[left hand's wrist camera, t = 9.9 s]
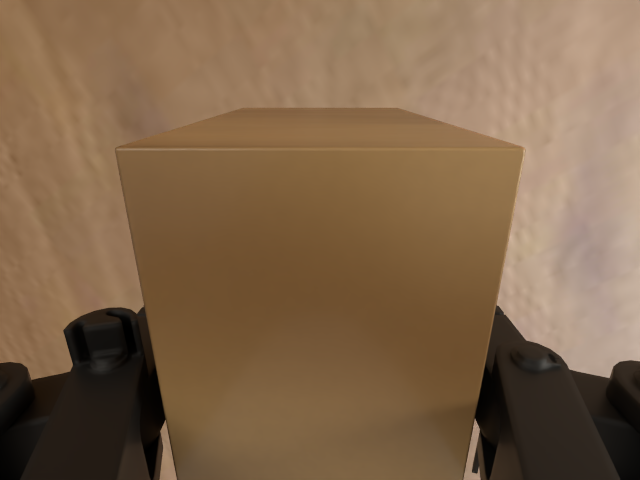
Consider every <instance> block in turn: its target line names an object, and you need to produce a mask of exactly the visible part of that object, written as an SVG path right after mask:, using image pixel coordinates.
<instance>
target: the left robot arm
mask: <svg viewBox="0 0 640 480" xmlns="http://www.w3.org/2000/svg"><path fill="white" fill-rule="evenodd" d="M63 331H64V335H65V338H66V342H67V345H68V349H69V352H70V356H71V359H72V363H73V367H72V369H71V371H70V372H67V373H63V374H58V375H53V376H48V377H43V378H38V379H34V380H31V378H30V375H29V372H28V369H27V368H26V367H25V366H24V365H22V364H21V363H13V362H7V363H0V480H159V479H160V470H161V461H162V452H163V444H162V438H161V433H160V430H161V428H162V426H163V424H164V422H165V420H166V418H165V413H164V407H163V402H162V397H161V391H160V386H159V381H158V376H157V370H156V365H155V360H154V354H153V349H152V344H151V339H150V333H149V328H148V323H147V317H146V312H145V307H142V308H141V309H140V311H139V312H138V313H137V314H136V313H135V312H133V311H132V310H131V309H126V308H106V309H101V310H97V311H93V312H91V313H88V314H85V315H83V316H81V317H79V318H77V319H76V320H74V321H72V322H71V323H70V324H69V325H68V326H67V327H66V328H65V329H64V330H63ZM475 419H476V421H477V423H478V426H479V428H480V433H479V438H478V443H477V447H476V452H475V457H474V462H473V469H472V472H473V473H478V468H479V469H480V478H481V480H640V361H632V360H630V361H622V362H619V363H618V364H616V365H615V366H614V367H613V370H612V373H611V376H610V378H606V377H601V376H596V375H591V374H586V373H581V372H577V371H573V370H569V368H568V366H567V364H566V363H565V362H564V360H563V359H562V358H561V357H560V356H559V355H558V354H556V353H555V352H553V351H552V350H551V349H549V348H546V347H544V346H542V345H540V344H537V343H534V342H529V341H526V340H525V339H524V337H523V336H522V335H521V334H520V332H519V331H518V330H517V329H516V327H515V326H514V325H513V324H512V322H511V321H510V320H509V319H508V317H507V316H506V315H504V312H503V311H502V310H501V309H500V307H499V306H497V304H496V309H495V314H494V320H493V325H492V330H491V335H490V341H489V346H488V351H487V356H486V362H485V367H484V372H483V378H482V383H481V388H480V393H479V399H478V404H477V409H476V414H475Z"/></svg>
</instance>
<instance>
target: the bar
mask: <svg viewBox="0 0 640 480" xmlns="http://www.w3.org/2000/svg"><path fill="white" fill-rule="evenodd" d="M115 153H116V158H117V164H118V169H119V174H120V180H121V185H122V190H123V196H124V201H125V206H126V211H127V217H128V222H129V227H130V233H131V238H132V243H133V248H134V254H135V259H136V264H137V270H138V275H139V280H140V286H141V291H142V296H143V301H144V307H145V312H146V317H147V323H148V328H149V333H150V339H151V344H152V349H153V354H154V360H155V365H156V370H157V376H158V381H159V386H160V391H161V397H162V402H163V407H164V413H165V418H166V423H167V429H168V434H169V439H170V444H171V450H172V455H173V460H174V466H175V471H176V476H177V480H463V477H464V472H465V467H466V462H467V456H468V451H469V446H470V441H471V435H472V430H473V425H474V420H475V414H476V409H477V404H478V399H479V393H480V388H481V383H482V378H483V372H484V367H485V362H486V356H487V351H488V346H489V341H490V335H491V330H492V325H493V320H494V314H495V309H496V304H497V299H498V293H499V288H500V283H501V278H502V272H503V267H504V262H505V257H506V251H507V246H508V241H509V236H510V230H511V225H512V220H513V214H514V209H515V204H516V199H517V193H518V188H519V183H520V178H521V172H522V167H523V162H524V157H525V148H524V147H521V146H518V145H515V144H511V143H508V142H505V141H502V140H499V139H495V138H492V137H489V136H486V135H482V134H479V133H476V132H473V131H470V130H466V129H463V128H460V127H457V126H454V125H450V124H447V123H444V122H441V121H437V120H434V119H431V118H428V117H425V116H421V115H418V114H415V113H412V112H408V111H405V110H402V109H399V108H241V109H238V110H235V111H232V112H229V113H225V114H222V115H219V116H216V117H212V118H209V119H206V120H203V121H200V122H196V123H193V124H190V125H187V126H183V127H180V128H177V129H174V130H171V131H167V132H164V133H161V134H158V135H154V136H151V137H148V138H145V139H142V140H138V141H135V142H132V143H129V144H125V145H122V146H119V147H117V148H116V149H115Z"/></svg>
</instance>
